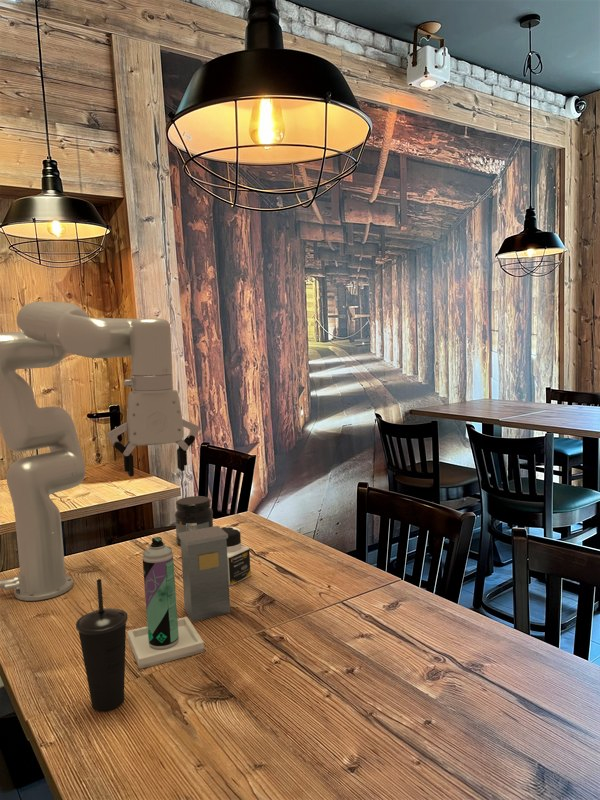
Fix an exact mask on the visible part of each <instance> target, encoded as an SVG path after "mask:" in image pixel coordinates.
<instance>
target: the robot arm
mask: <svg viewBox="0 0 600 800" xmlns="http://www.w3.org/2000/svg"><path fill="white" fill-rule="evenodd" d="M16 325H17V328H18V330H19V331H4V332H0V432H1V435H2V438H3V441H4V445H5V446H6V447H7V448H8V450H10V451H11V452H17V453H21V452H29V451H34V450H38V449H39V450H40V449H45V448H49V450H50V452H45V453H40V454H35V455H29V456H26V457H23V458H20V459H18V460H16V461H14V462H12V464H11V465H10V466H9V467H8V469H7V471H6V476H5V477H6V478H5V479H6V484H7V487H8V491H9V494H10V498H11V503H12V506H13V512H14V521H15V531H16V540H17V552H18V562H19V564H18V566H19V571H18V575H14V576H13V577H10V578H3V579H0V590H1V589H4V591H9V590H13V589H14V591H13V593H14V597H15V599H17V600H21V601H25V602H26V601H27V602H29V601H30V602H35V601H43V600H48V599H52V598H55V597H59V596H61V595H63V594H65V593H66V592H68V591H70V590H71V589H72V587H73V586H74V579H73V578H72V577H71V576H69V575H66V567H65V565H66V564H65V554H64V553H65V552H64V542H63V541H64V540H63V529H62V528H63V527H62V517H61V512H60V509H59V507H58V506H57V505H56V504H55V502H53V501H52V499H51V497H50V495H53V494H55V493H60V492H63V491H67V490H70V489H73V488H76V487H79V485H81V484H82V483H83V481H84V479H85V476H86V466H85V465H86V464H85V460H84V455H83V452H82V448H81V444H80V441H79V436H78V434H77V430H76V427H75V423H74V421H73V419H72V417H71V415H70V414H69V413H68V411H67V410H66V409H64V408H62V407H61V406H60V407H59V406H55V405H53V406H45V407H43V406H42V407H40V406H38V405H37V402H36V398H35V395H34V391H33V389H32V387H31V386H30V384H29V383H28V382H27V380H25V378H23V376H21V375H20V374H18V373H17V372H16V370H29V369H42V368H51V367H55V366H56V365H57V364H59V363H60V362H61V361H62V360H64V359H65V357H66V356H67V355H68V354H71V355H75V356H80V357H85V358H91V359H110V358H113V359H114V358H130V366H131V367H130V370H131V375H130V377H129V378H125V379H123V385H124V387H128V388H130V389H132V391H129V392H128V398H127V405H126V422H124V423H122V424H120V425H118V426H117V427H116V428H113V429H112V430H110V431H109V432H107V434H106V436H107V437H108V439H109V441H110V442H111V444H112V446H113V447H114V449H116V450H117V451H118V452H120V453H121V454H122V455H123V468H124V473H127V475H128V476H129V477H130V478H131V477H133V476H134V475H135V472H134V470H135V469H134V456H133V454H132V452H133V451H134V450H135V448H136V447H137V446H138V447H141V446H142V447H144V446H154V445H166V444H176V445H177V446H178V448H177V449H176V459H177V469H178V470H179V471H181V472H185V469H186V467H185V466H188V456H187V452H188V450H189V448H190V446H191V445H192V444H193V443H194V442H195V441H196V438H197V436H198V433H199V432H200V429H201V428H200V426H199V425H197V424H195V423H192V422H190V421H188V420H185V419H183V416H182V406H181V401H180V396H179V392H178V390H176V389H174V385H173V384H174V381H173V380H174V379H173V359H172V358H173V357H172V331H171V324H170V323H169V321H168V320H166V319H164V318H117V317H116V318H114V317H113V318H112V317H90V315H88V313H87V312H86V311H85V310H83V309H82V308H81V307H80V306H78V305H77V304H74V303H73V302H67V301H65V302H64V301H62V302H61V301H40V300H39V301H32V302H29V303H26V304H24V305H23V306H22V307H21V308H20V309H19V311H18V312H17V315H16ZM184 428H186V429H188V430H189V433H188V435H187V436H186V437H185V439H183V438H184ZM125 432H126V438H127V442H126V443H125V444H122V443H121V442H120V441H119V439H118V436H120V435H121V434H123V433H125Z"/></svg>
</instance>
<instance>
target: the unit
mask: <svg viewBox="0 0 600 800" xmlns="http://www.w3.org/2000/svg"><path fill="white" fill-rule="evenodd" d="M221 528H222V527H220V526H219V525H215V526H214V525H213V527H208V528H202V529H197V530H191V531H186V532H180V533H178V537H179V538H180V540H181V545H180V553H181V554H180V555H181V569H182V585H183V586H182V587H183V605H184V612H185V613H186V614H187V617H188V619H189V620H190V622H191V623H196V622H200V621H204V620H208V619H211V618H217V617H219V616H224V615H228V614H231V603H230V601H231V599H230V598H231V597H230V586H229V578H228V559H227V541H226V538H228V534H227V533H226V532H225V531H224V530H222V529H221Z"/></svg>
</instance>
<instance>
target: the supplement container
mask: <svg viewBox="0 0 600 800" xmlns="http://www.w3.org/2000/svg"><path fill="white" fill-rule="evenodd" d="M175 509H176V511H175V513H174V517H175V533H176V534H175V535H176V537H175V539H176V542H177V544H178V545H180V546H181V540H180V538H179V537H178V533H180V532H186V531H191V530H197V529H202V528H208V527H214V523H213V522H214V521H213V520H214V519H213V517H214V516H213V514H214V512H213V508H211V499H210V498H209V497H208V496H205V495H204V496H203V495H202V496H201V495H194V496H192V495H191V496H185V497H181V498H180V499H177V500H176V502H175Z"/></svg>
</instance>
